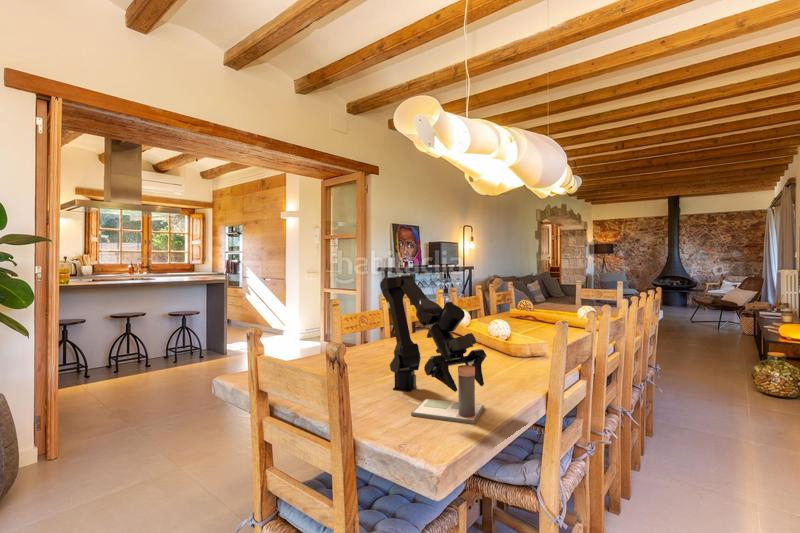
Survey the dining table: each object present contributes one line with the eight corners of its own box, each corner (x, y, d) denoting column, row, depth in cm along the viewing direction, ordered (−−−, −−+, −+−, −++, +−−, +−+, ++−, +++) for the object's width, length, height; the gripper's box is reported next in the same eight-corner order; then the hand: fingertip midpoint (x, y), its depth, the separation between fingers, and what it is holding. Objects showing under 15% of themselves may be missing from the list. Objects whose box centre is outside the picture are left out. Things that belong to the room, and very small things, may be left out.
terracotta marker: (459, 417, 111) (458, 369, 111) (457, 411, 116) (457, 365, 116) (476, 417, 111) (476, 369, 111) (473, 411, 116) (473, 365, 116)
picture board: (411, 415, 116) (411, 412, 116) (425, 401, 128) (425, 397, 128) (475, 424, 109) (475, 420, 109) (484, 407, 121) (484, 404, 121)
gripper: (429, 327, 112) (455, 377, 102) (482, 321, 121) (510, 366, 112) (414, 351, 119) (437, 400, 109) (465, 344, 128) (490, 388, 119)
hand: (469, 388), depth 112 cm, fingers open, 9 cm apart
